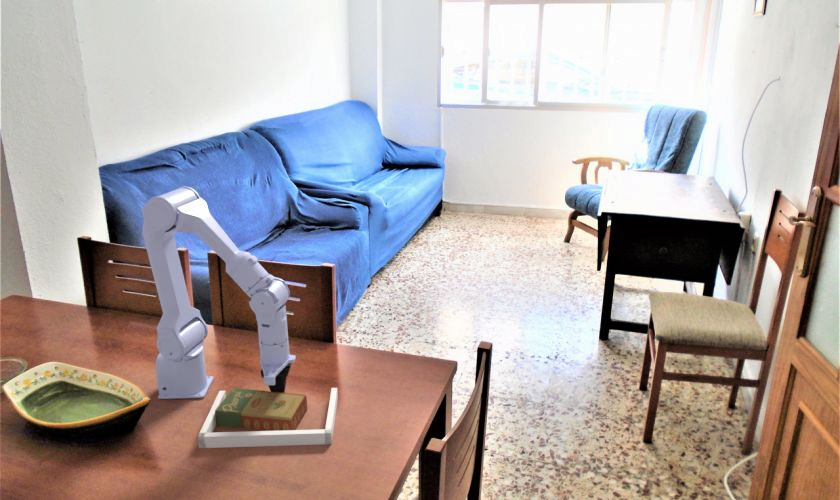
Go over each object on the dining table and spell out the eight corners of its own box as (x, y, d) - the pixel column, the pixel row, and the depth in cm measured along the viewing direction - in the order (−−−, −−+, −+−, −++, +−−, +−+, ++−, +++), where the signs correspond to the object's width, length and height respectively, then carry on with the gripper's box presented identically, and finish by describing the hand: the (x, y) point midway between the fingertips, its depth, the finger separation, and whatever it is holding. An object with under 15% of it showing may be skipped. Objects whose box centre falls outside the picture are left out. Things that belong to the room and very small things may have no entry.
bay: (199, 448, 108) (197, 437, 108) (220, 400, 123) (219, 390, 122) (331, 444, 110) (330, 433, 109) (337, 397, 124) (337, 387, 123)
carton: (293, 436, 113) (291, 418, 111) (215, 427, 115) (212, 409, 114) (308, 411, 120) (306, 393, 119) (235, 403, 123) (232, 385, 121)
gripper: (288, 356, 111) (292, 416, 116) (298, 321, 125) (302, 377, 129) (250, 357, 111) (256, 417, 115) (265, 322, 124) (270, 378, 129)
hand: (278, 396), depth 122 cm, fingers closed
